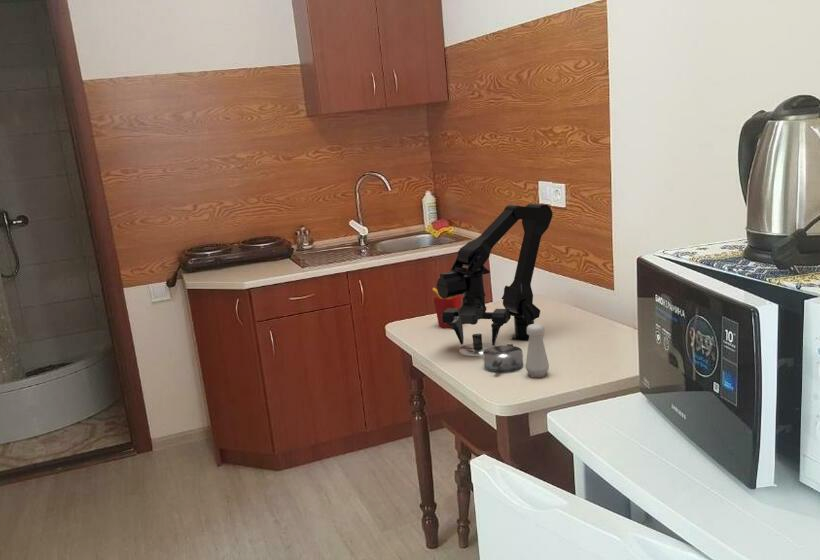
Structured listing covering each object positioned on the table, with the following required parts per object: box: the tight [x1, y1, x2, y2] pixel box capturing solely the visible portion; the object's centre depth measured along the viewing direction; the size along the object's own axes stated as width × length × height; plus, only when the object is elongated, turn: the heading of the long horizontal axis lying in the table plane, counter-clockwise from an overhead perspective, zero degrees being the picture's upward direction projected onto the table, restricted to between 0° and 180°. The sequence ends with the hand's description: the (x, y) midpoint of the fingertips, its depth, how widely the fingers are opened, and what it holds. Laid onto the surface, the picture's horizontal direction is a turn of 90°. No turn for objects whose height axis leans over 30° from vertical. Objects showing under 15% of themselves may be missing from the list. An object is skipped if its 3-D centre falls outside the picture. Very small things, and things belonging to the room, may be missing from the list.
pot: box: [483, 344, 524, 374], centre depth 188 cm, size 15×10×4 cm, turn 158°
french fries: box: [431, 287, 462, 329], centre depth 227 cm, size 9×8×15 cm
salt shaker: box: [525, 323, 550, 378], centre depth 179 cm, size 6×6×13 cm
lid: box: [458, 333, 497, 357], centre depth 203 cm, size 11×11×5 cm
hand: (477, 344), depth 203 cm, fingers open, 9 cm apart
